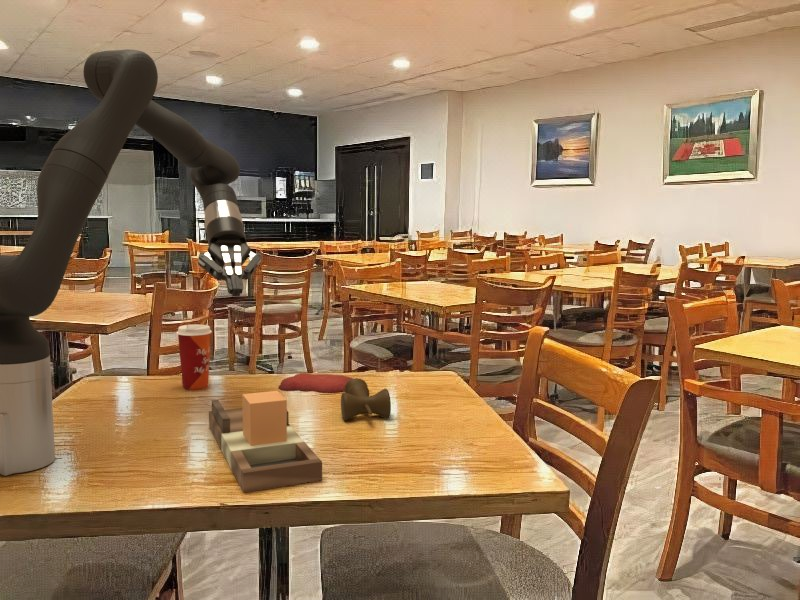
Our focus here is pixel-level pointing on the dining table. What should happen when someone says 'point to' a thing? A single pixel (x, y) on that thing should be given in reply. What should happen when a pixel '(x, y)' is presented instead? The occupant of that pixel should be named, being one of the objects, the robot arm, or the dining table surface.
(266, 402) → the block
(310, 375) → the patty
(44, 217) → the robot arm
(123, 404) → the dining table surface
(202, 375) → the paper cup
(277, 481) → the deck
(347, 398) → the kendama
